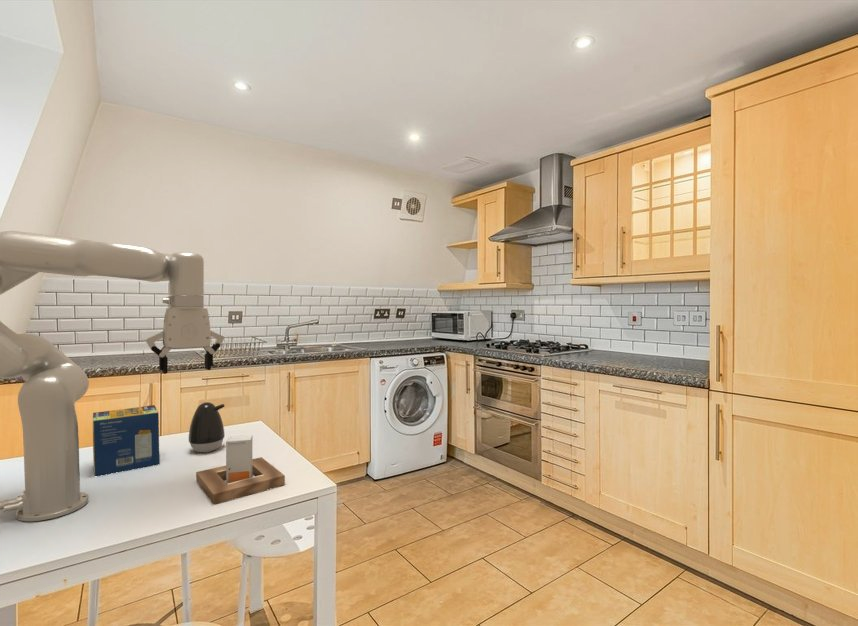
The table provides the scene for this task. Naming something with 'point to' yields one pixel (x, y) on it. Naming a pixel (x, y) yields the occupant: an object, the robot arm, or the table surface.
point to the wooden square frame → (222, 492)
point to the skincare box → (239, 458)
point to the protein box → (125, 439)
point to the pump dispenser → (206, 428)
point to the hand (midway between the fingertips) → (186, 371)
